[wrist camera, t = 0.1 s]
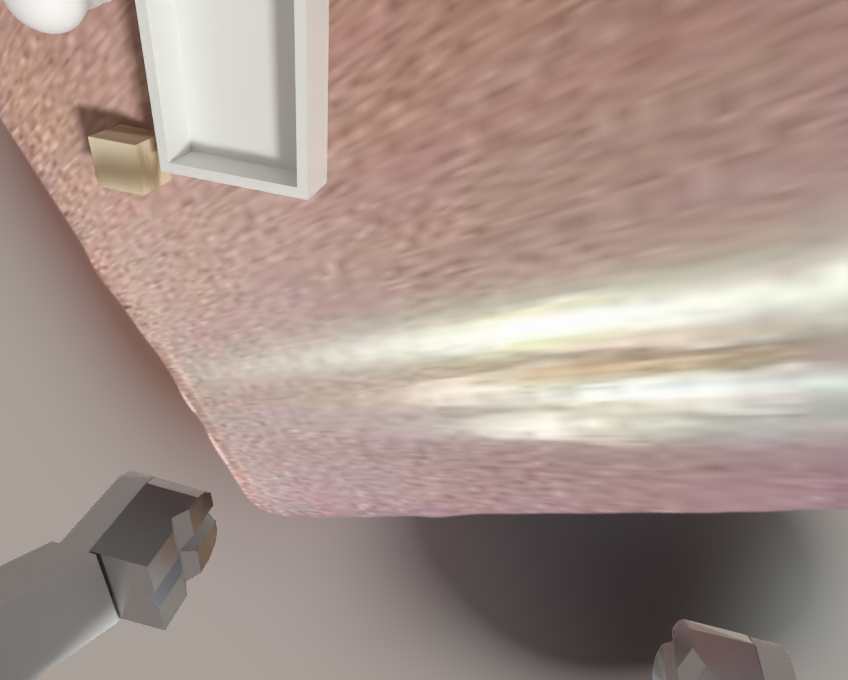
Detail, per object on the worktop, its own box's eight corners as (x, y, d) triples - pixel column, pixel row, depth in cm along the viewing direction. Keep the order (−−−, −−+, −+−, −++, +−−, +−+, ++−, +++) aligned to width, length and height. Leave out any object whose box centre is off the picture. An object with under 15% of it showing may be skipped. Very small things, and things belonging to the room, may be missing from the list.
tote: (162, -66, 50) (124, -68, 46) (329, -43, 48) (305, -42, 44) (189, 156, 61) (160, 170, 57) (326, 182, 59) (307, 199, 55)
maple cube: (121, 123, 61) (87, 136, 57) (165, 132, 60) (134, 145, 56) (129, 171, 63) (98, 186, 59) (172, 179, 63) (143, 195, 59)
